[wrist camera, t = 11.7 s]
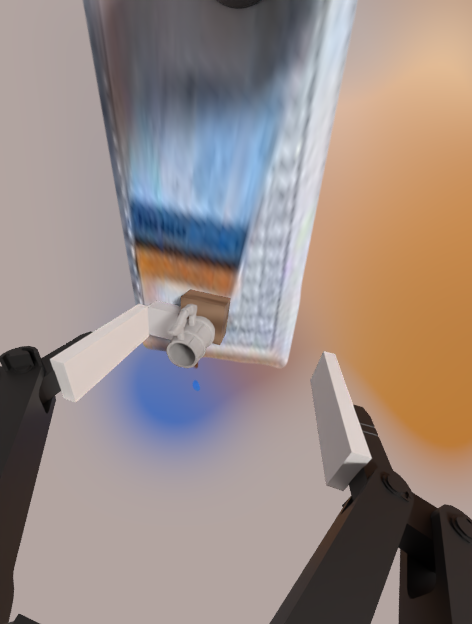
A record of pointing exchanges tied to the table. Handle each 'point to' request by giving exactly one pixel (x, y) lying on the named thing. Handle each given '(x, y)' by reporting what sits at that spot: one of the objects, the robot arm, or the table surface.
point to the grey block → (162, 318)
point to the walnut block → (210, 310)
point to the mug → (189, 337)
